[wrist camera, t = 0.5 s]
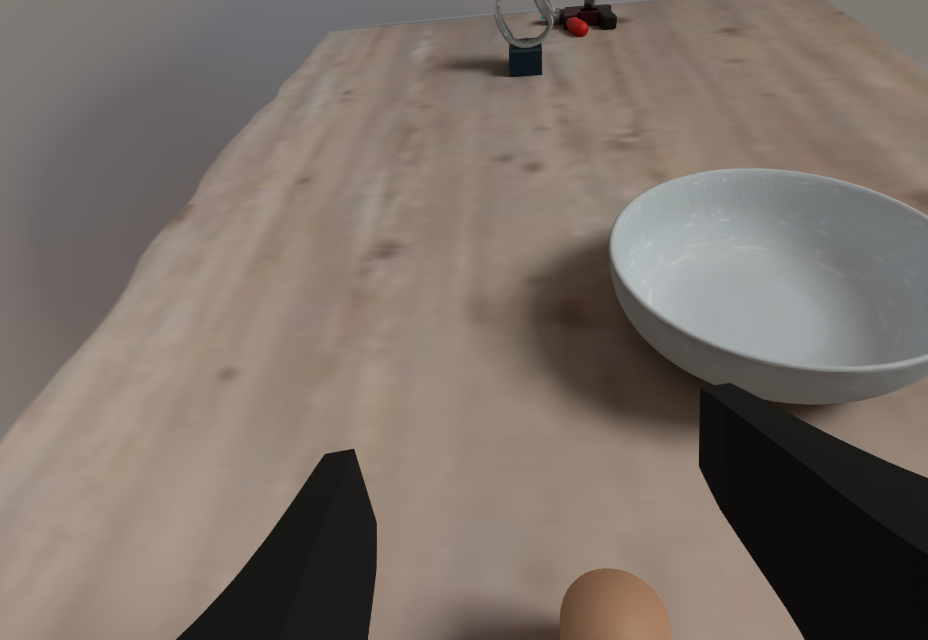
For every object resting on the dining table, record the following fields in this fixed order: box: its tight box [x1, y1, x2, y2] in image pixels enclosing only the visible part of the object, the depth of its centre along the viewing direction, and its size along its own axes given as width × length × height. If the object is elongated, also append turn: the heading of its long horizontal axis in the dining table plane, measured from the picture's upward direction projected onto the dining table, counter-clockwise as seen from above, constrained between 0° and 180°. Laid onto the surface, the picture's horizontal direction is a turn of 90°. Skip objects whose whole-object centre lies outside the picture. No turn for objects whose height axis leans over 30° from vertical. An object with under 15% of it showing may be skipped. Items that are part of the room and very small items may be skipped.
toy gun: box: [540, 0, 617, 37], centre depth 91 cm, size 10×12×5 cm
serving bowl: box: [608, 168, 928, 405], centre depth 38 cm, size 21×21×7 cm
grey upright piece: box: [495, 0, 556, 77], centre depth 78 cm, size 6×8×11 cm
